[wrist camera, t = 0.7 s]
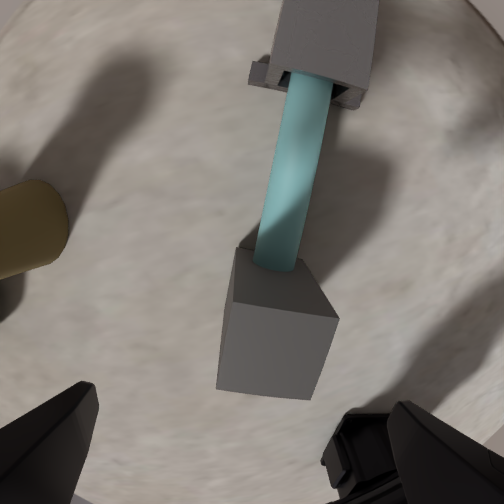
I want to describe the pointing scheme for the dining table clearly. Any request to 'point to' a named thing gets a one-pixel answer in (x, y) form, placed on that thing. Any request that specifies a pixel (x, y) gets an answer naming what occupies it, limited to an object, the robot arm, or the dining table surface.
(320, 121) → the tube
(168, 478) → the dining table surface
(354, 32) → the sleeve
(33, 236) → the cork
